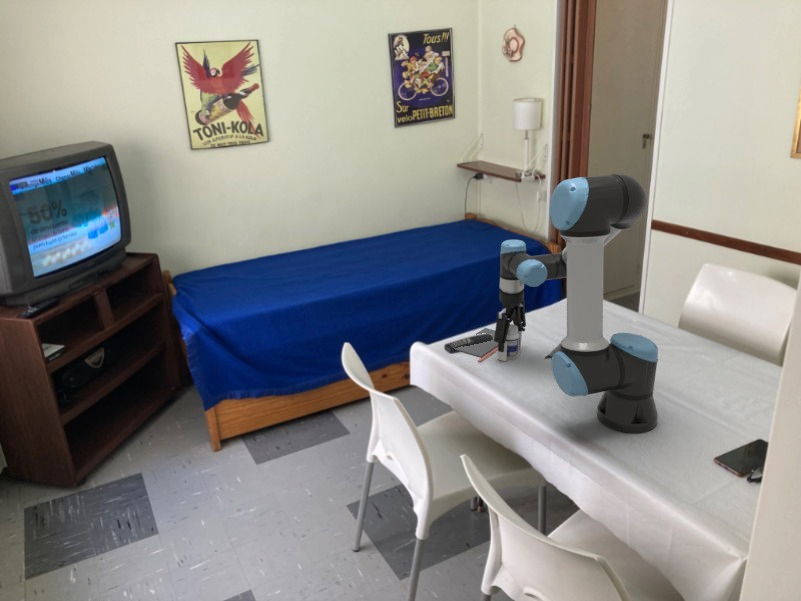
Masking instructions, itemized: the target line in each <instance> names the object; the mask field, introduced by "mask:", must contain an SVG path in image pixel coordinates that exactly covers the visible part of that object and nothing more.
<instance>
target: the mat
mask: <svg viewBox="0 0 801 601" xmlns="http://www.w3.org/2000/svg"><path fill="white" fill-rule="evenodd" d="M495 330H496V329H490V328H487V327H484V328H482V329H481V330H479V331H478V332H476V333H475V334H476V335H477V334H482V333H486V334H492V336H493V340H491V341H487V342H483V343H479V344H474V345H470V346H464V347H463V346H461V347H458V348H454V347H453V348H454V349H455V350H454V351H456V352H460V353H463V354H466V355H471V356H473V357H476V358H479V359H481V358H482V357H484V356H485V355H487V354H488V353H490V352H491V351H492V350H494V349H495V348H497V347H498V342H494V337H495Z"/></svg>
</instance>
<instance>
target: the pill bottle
mask: <svg viewBox="0 0 801 601" xmlns="http://www.w3.org/2000/svg"><path fill="white" fill-rule="evenodd" d="M517 332H518V326H516V325H514V324H513V323H512V324H511V323H510V326H509V330H508V334H507V338H506V341H505V342H507V359H511V360H512V359H516V358H517V357H519V356H520V350H519V334H518V333H517Z"/></svg>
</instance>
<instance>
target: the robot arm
mask: <svg viewBox="0 0 801 601" xmlns="http://www.w3.org/2000/svg"><path fill="white" fill-rule="evenodd" d="M646 207H647V194H646V190H645V189H644V187H643V185H642V184H641V183H640V181H638V180H637V179H636V178H634V177H632V176H630V175H628V174H624V173H615V174H609V175H608V174H607V175H605V174H604V175H594V176H582V177H581V176H579V177H575V178H569V179H564V180H563V181H561V182H559V184H557V186H556V187H555V189H554V190H553V192H552V195H551V198H550V203H549V217H550V219H551V223H552V225H553V226H554V228H555V229H556V230H559V235H560V238H562V239H563V240H564V241H565V242H566V246H565V247H564V248H563V249H562V250H561V251H560V252H555V253H547V254H539V255H538V254H537V255H530V254H528V253H527V244H526V243H525V241H524V240H520V239H507V240H504V241H503V242H502V243H501V245H500V253H499V254H500V255H499V256H500V257H499V258H500V259H499V260H500V261H499V262H500V264H499V266H500V267H499V268H500V269H499V270H500V271H499V295H498V296H499V301H500V303H502V308H501V311H496V323H495V324H496V325H495V329H494V330H495V337H494V342H498V351H497V360H498V361H499V360H500V361H503V362H507V360H508V358H507V342H505V341H506V338H507V334H508V330H509V326H510V324H511V323H512V325H516V326H518V332H517V333H518V334H519V351H522V337H523V336H522V334H523V332H525V331H526V327H527V325H526V324H527V322H526V321H527V320H526V309H525V306H526V305H525V304H526V300H524V299H525V298H524V297H525V291H524V289H525V285H526V286H529V287H533V288H535V287H539V286H540V285H542V284H543V283H544V282H545V281H549V280H550V281H551V280H557V279H564V278H565V279H566V336H565V337H564V338H562V339H561V341H560V343H561V352H560V351H558V352H556V353H555V354H554V355H553V357H551V371H552V374H553V377H554V379H555V382H556V384H557V386H558V387H559V390H561V391H562V393H564V394H565V395H567V396H569V397H579V396H580V397H582V396H583V397H586V396H588V395H592V394H599V393H603V395H602V396H601V398H600V400H599V402H598V404H597V411H596V415H597V419H598V420H599V421H600V423H602V424H603V425H604V426H606V427H607V428H610V429H611V430H615V431H617V432H622V433H628V434H641V433H646V432H649V431H650V430H652V429H654V428H655V427H656V426H657V423H658V411H657V407H656V402H655V399H654V391H655V390H654V389H655V388H654V387H655V382H656V381H655V380H656V374H657V373H656V372H657V366H658V363H659V358H658V357H659V356H658V354H659V353H658V352H659V348H658V346H657V344H656V343H655V342H654V341H653V340H651V339H650V338H647V337H646V336H643V335H641V334H640V335H639V334H636V333H631V332H616V333H614V334H612V335H611V337H610V339H609V340H608V339H606V338H605V337H604V320H603V319H604V251H605V250H604V247H605V246H607V244H609V242H611V241H612V240H613V239H614V238H615V237H616V236H617V235H618V234H619V233H620V232H621V231H625V230H628V229H630V228H632V227H633V226H634V225H635V224H636V223H637V222H638V221H639V220H640V219H641V217H642V216H643V215H644V213H645V211H646Z"/></svg>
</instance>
